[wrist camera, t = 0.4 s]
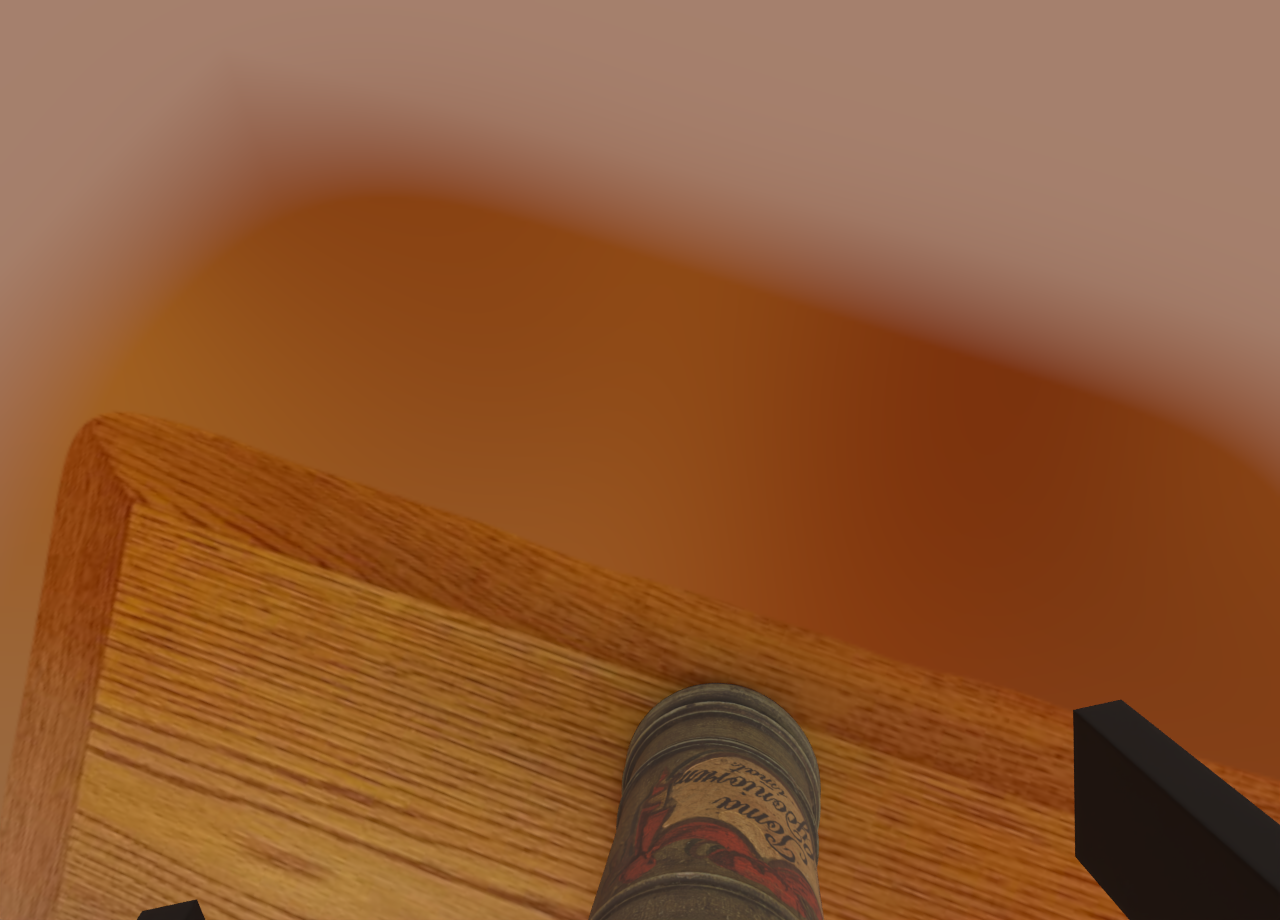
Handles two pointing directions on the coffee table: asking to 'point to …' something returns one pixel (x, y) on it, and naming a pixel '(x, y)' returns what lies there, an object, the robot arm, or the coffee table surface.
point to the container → (715, 814)
